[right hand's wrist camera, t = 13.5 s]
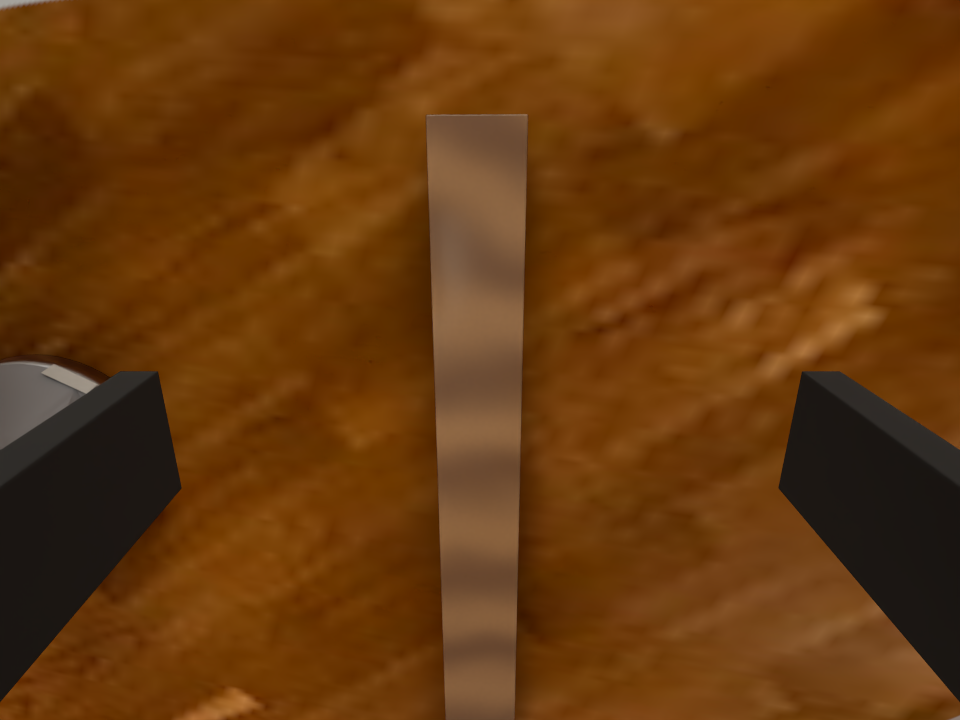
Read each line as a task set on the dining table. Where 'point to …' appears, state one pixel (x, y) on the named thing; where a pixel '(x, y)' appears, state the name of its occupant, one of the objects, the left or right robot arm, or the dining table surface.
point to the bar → (478, 397)
